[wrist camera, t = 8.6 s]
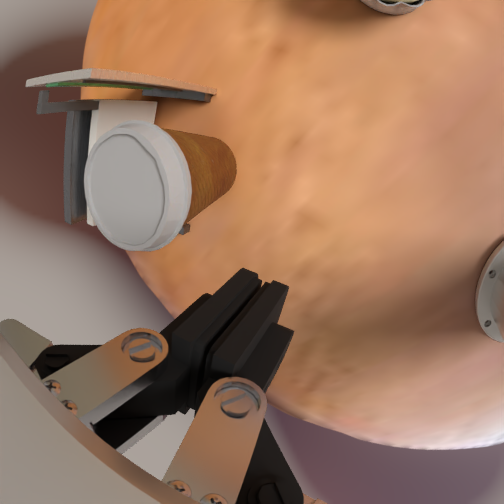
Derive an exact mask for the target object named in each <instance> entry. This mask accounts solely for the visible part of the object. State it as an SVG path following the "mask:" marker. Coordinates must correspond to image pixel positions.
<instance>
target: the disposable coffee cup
mask: <svg viewBox="0 0 504 504" xmlns="http://www.w3.org/2000/svg"><path fill="white" fill-rule="evenodd" d="M235 177H236V161H235V158H234V155H233V153H232V151H231V150H230V148H229V147H228V146H227V145H226V144H225V143H224V142H222V141H221V140H219V139H217V138H213V137H207V136H202V135H197V134H192V133H186V132H181V131H175V130H169V129H163V128H160V127H158V126H157V125H154V124H152V123H149V122H147V121H141V120H130V121H126V122H123V123H121V124H119V125H117V126H115V127H114V128H113V129H112V130H110V131H108V132H106V133H105V134H103V135H102V136H101V137H100V138H99V139H98V140H97V141H96V143H95V144H94V145H93V147H92V149H91V151H90V153H89V155H88V158H87V162H86V166H85V173H84V189H85V197H86V201H87V205H88V208H89V211H90V214H91V216H92V218H93V220H94V221H95V223H96V225H97V227H98V229H99V230H100V231H101V233H102V234H103V235H104V236H105V237H106V238H107V239H108V240H109V241H110V242H111V243H113V244H115V245H116V246H118V247H120V248H122V249H125V250H129V251H154V250H158V249H160V248H162V247H164V246H165V245H167V244H169V243H170V242H171V241H172V240H173V239H174V238H175V237H176V236H177V234H178V233H179V231H180V230H181V228H182V226H183V225H184V224H186V223H187V222H188V221H190V220H191V219H192V218H193V217H195V216H196V215H197V214H198V213H200V212H201V211H202V210H204V209H205V208H206V207H208V206H209V205H210V204H212V203H213V202H214V201H216V200H217V199H218V198H220V197H221V196H222V195H224V194H225V193H226V192H227V191H228V190H229V189H230V188H231V187H232V185H233V183H234V180H235Z"/></svg>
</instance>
